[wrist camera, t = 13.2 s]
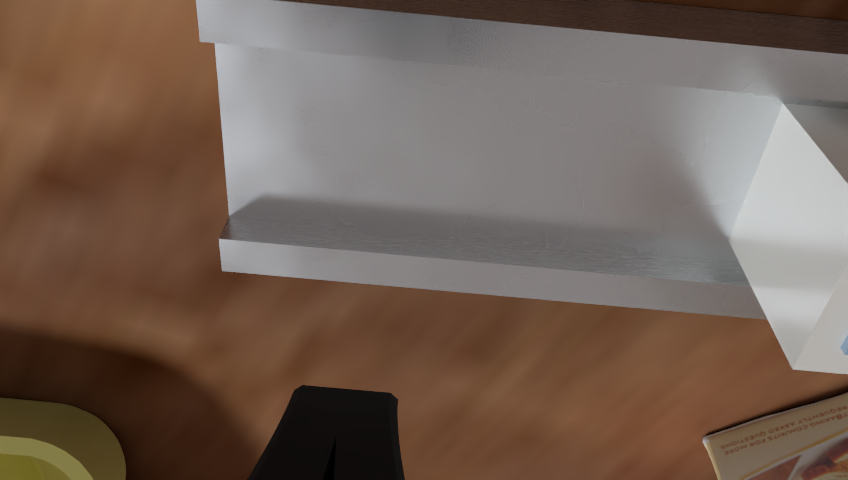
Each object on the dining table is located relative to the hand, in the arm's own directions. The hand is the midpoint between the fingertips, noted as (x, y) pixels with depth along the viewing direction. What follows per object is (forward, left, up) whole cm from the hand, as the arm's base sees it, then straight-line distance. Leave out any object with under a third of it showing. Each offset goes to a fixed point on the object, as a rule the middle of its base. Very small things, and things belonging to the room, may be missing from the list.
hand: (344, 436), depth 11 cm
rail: (0, +6, -10) cm, 12 cm away
